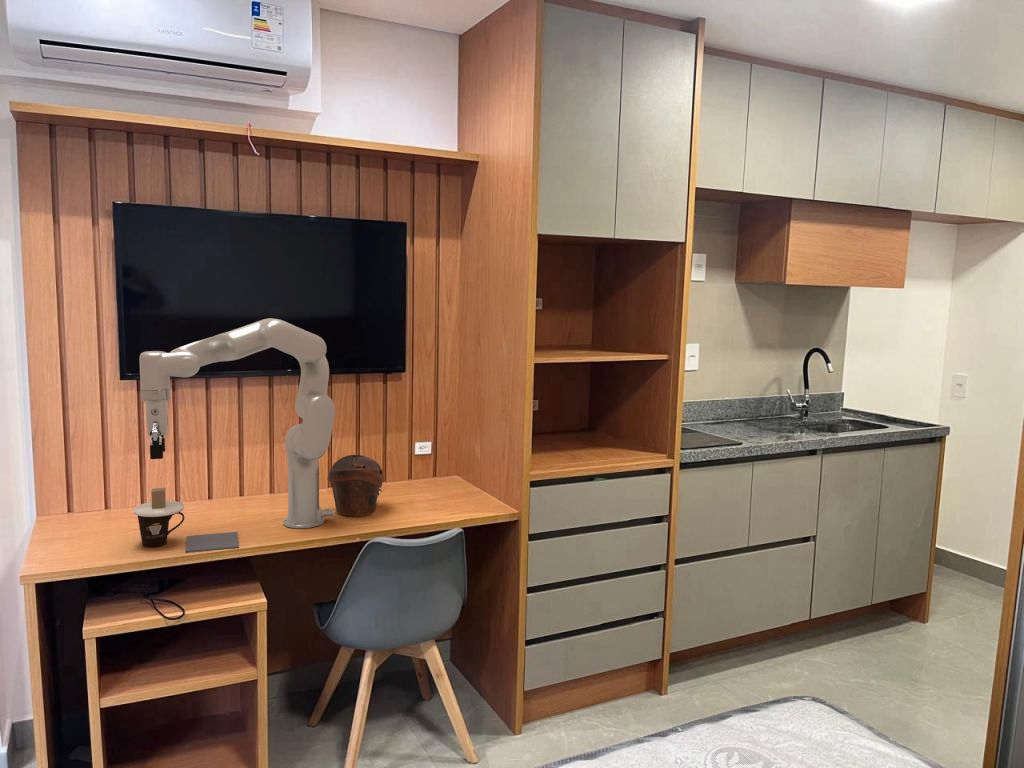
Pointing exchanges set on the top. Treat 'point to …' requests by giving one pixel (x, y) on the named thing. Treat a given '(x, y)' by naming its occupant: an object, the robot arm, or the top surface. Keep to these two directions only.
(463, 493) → the top surface
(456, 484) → the top surface
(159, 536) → the coffee mug
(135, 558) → the top surface
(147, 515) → the lid
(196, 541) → the mat
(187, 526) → the top surface
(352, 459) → the brown tapered piece
